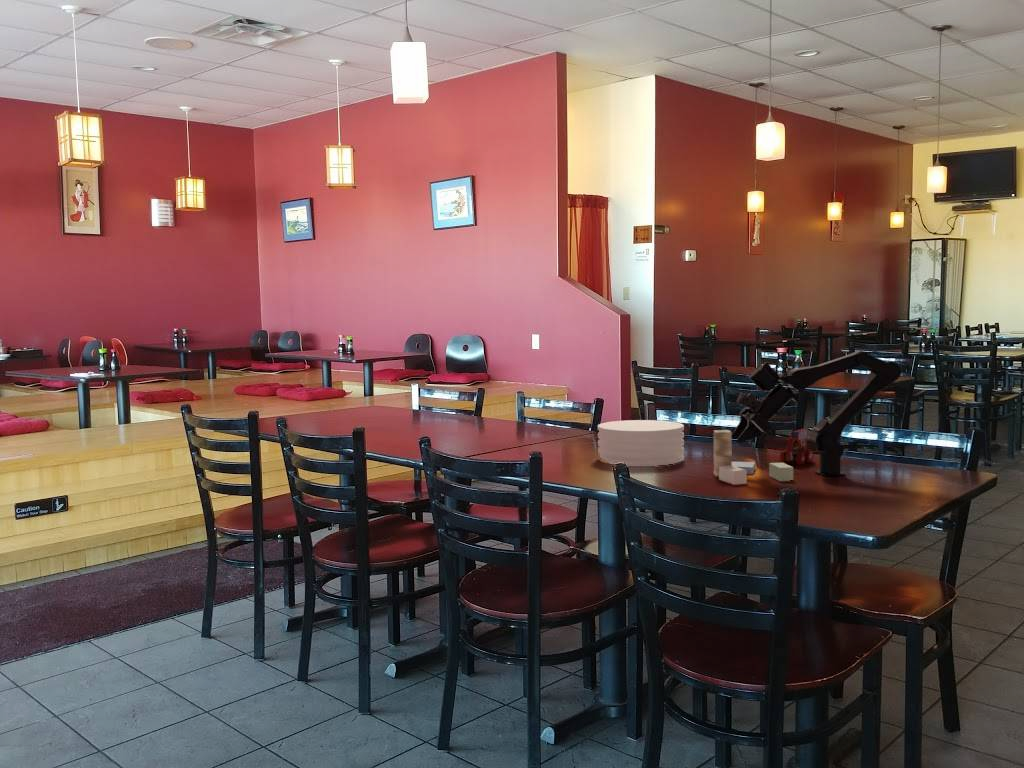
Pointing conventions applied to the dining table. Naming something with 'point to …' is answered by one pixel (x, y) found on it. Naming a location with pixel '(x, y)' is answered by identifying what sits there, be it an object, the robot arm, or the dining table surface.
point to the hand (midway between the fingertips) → (734, 440)
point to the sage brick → (781, 471)
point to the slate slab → (745, 466)
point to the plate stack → (641, 442)
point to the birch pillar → (722, 449)
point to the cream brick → (733, 475)
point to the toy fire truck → (797, 448)
